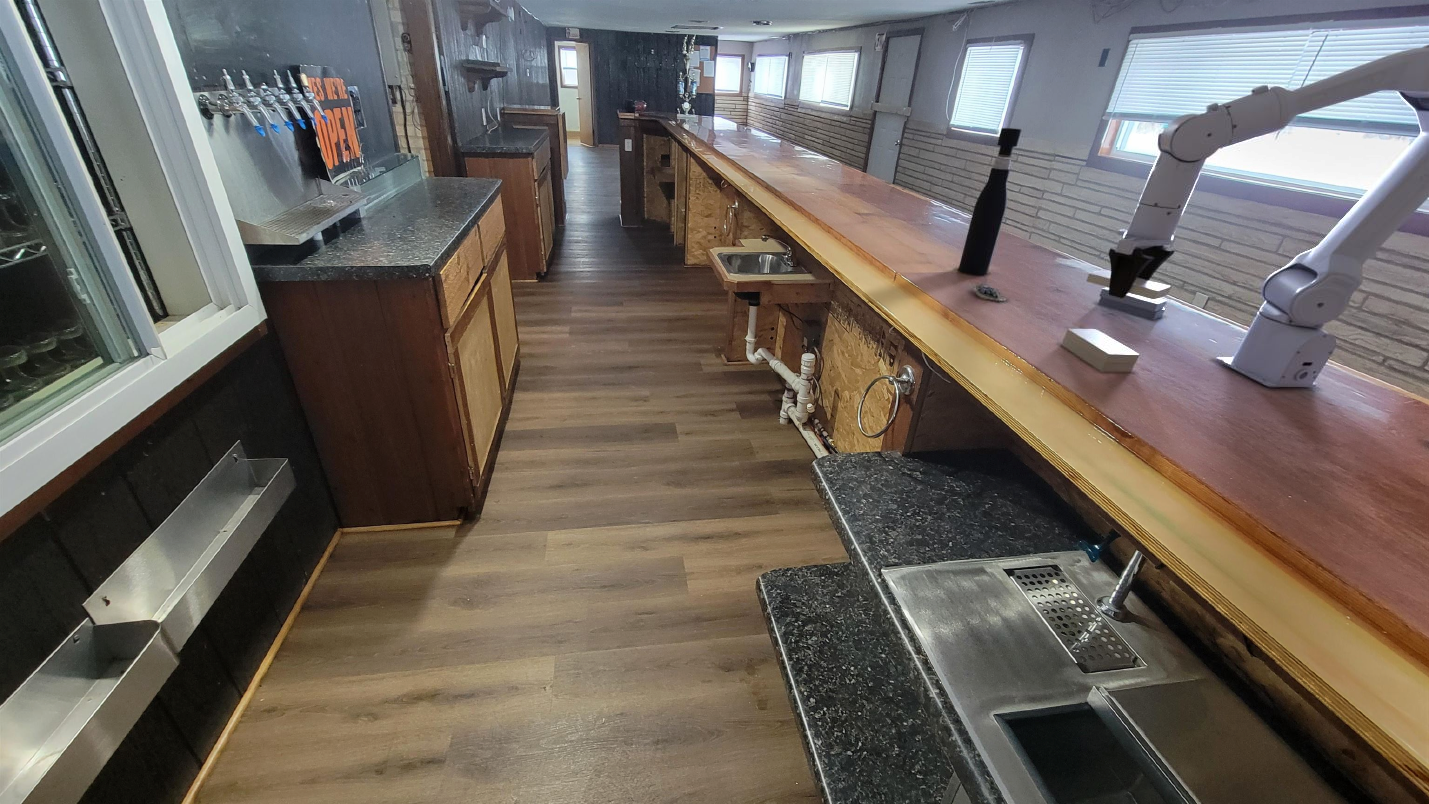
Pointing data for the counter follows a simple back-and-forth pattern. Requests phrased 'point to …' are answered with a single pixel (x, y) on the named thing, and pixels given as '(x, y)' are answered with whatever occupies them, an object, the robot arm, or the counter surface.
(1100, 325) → the counter surface
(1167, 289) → the white book
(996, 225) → the wine bottle
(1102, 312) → the counter surface
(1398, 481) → the counter surface
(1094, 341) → the cream rectangular block
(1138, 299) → the grey books
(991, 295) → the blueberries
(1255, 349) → the robot arm
